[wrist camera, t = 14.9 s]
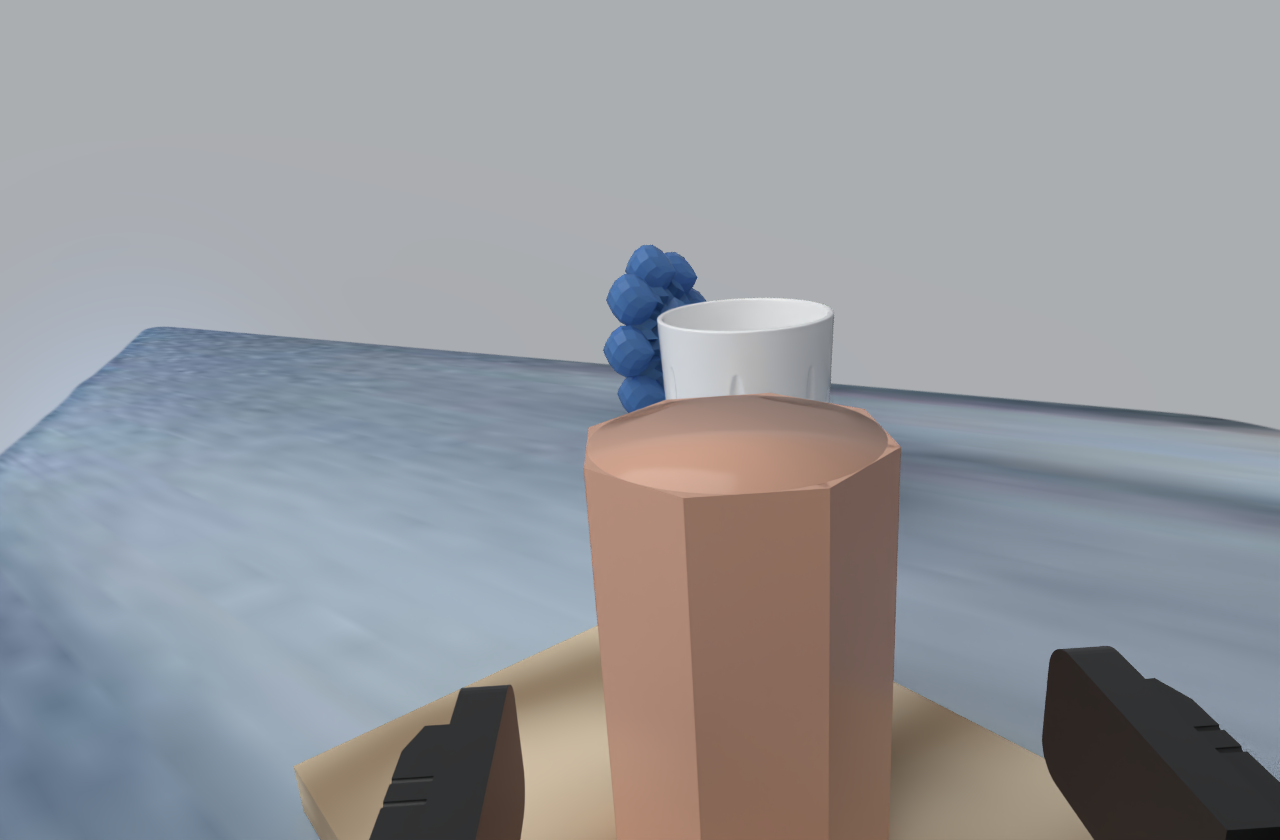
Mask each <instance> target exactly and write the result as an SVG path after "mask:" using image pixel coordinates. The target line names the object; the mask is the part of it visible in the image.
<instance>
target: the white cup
mask: <svg viewBox="0 0 1280 840" xmlns="http://www.w3.org/2000/svg"><path fill="white" fill-rule="evenodd" d="M833 323H834V311H833V309H832V308H830V307H829V306H827V305H824V304H821V303H817V302H813V301H807V300H799V299H786V298H741V299H728V300H716V301H708V302H701V303H695V304H689V305H685V306H681V307H677V308H674V309H671V310H668V311H666V312H664V313H662V314H660V315H659V316H658V318H657V325H658V334H659V343H660V352H661V362H662V371H663V381H664V390H665V399H666V400H669V399H684V398H699V397H714V396H729V395H744V394H759V393H774V394H780V395H786V396H792V397H797V398H803V399H809V400H815V401H820V402H826V403H830V386H831V364H832V343H833V325H834V324H833Z"/></svg>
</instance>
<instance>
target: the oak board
mask: <svg viewBox="0 0 1280 840" xmlns="http://www.w3.org/2000/svg"><path fill="white" fill-rule="evenodd" d="M498 685H512V687H513V691H514V695H515V703H516V711H517V719H518V727H519V734H520V742H521V750H522V758H523V766H524V777H525V809H524V819H523V826H522V832H521V839H520V840H617V836H616V824H615V813H614V802H613V791H612V780H611V768H610V757H609V746H608V735H607V723H606V712H605V701H604V690H603V679H602V667H601V656H600V645H599V634H598V625H597V626H595V627H593V628H591V629H589V630H587V631H585V632H582V633H580V634H578V635H576V636H574V637H572V638H569V639H567V640H565V641H563V642H561V643H559V644H556V645H554V646H552V647H550V648H548V649H546V650H544V651H541V652H539V653H537V654H535V655H533V656H531V657H528V658H526V659H524V660H522V661H520V662H518V663H515V664H513V665H511V666H509V667H507V668H505V669H503V670H500V671H498V672H496V673H494V674H492V675H490V676H487V677H485V678H483V679H481V680H479V681H477V682H475V683H472V684H470V685H468V686H466V687H464V688H468V687H483V686H498ZM460 690H461V689H459V690H457V691H455V692H453V693H451V694H449V695H446V696H444V697H442V698H440V699H438V700H436V701H434V702H431V703H429V704H427V705H425V706H423V707H421V708H418V709H416V710H414V711H412V712H410V713H408V714H405V715H403V716H401V717H399V718H397V719H395V720H393V721H390V722H388V723H386V724H384V725H382V726H380V727H377V728H375V729H373V730H371V731H369V732H367V733H364V734H362V735H360V736H358V737H356V738H354V739H352V740H349V741H347V742H345V743H343V744H341V745H339V746H336V747H334V748H332V749H330V750H328V751H326V752H323V753H321V754H319V755H317V756H315V757H313V758H311V759H308V760H306V761H304V762H302V763H300V764H298V765H295V766H294V770H295V774H296V779H297V783H298V788H299V792H300V797H301V801H302V806H303V810H304V812H305V814H306V815H307V817H308V819H309V820H310V822H311V824H312V826H313V827H314V829H315V831H316V833H317V834H318V836H319V838H320V839H321V840H369V838H370V836H371V833H372V830H373V827H374V825H375V822H376V819H377V817H378V814H379V811H380V809H381V808H383V800H384V798H385V795H386V792H387V790H388V787H389V784H391V783H392V776H393V773H394V771H395V768H396V765H397V762H398V760H399V757H400V754H401V752H402V750H403V749H404V748H405V747H406V746H407V745H408V744H409V742H410V741H411V740H412V739H413V738H414V737H415V736H416V735H417V734H418V733H419V732H420V731H421V729H422V728H423V727H424V726H429V725H444V724H450V720H451V717H452V714H453V711H454V707H455V704H456V701H457V697H458V694H459V691H460ZM888 840H1094V839H1093V838H1092V836H1091V835H1090V833H1089V832H1088V831H1087V829H1086V828H1085V826H1084V825H1083V823H1082V822H1081V820H1080V819H1079V818H1078V816H1077V815H1076V813H1075V812H1074V810H1073V809H1072V807H1071V806H1070V805H1069V803H1068V802H1067V800H1066V799H1065V797H1064V796H1063V794H1062V793H1061V792H1060V790H1059V789H1058V787H1057V786H1056V784H1055V783H1054V781H1053V779H1052V777H1051V775H1050V773H1049V770H1048V768H1047V765H1046V761H1045V759H1044V758H1042V757H1040V756H1038V755H1036V754H1034V753H1032V752H1030V751H1029V750H1027V749H1025V748H1023V747H1021V746H1019V745H1017V744H1015V743H1013V742H1011V741H1009V740H1007V739H1005V738H1003V737H1001V736H999V735H997V734H995V733H993V732H991V731H989V730H987V729H985V728H983V727H982V726H980V725H978V724H976V723H974V722H972V721H970V720H968V719H966V718H964V717H962V716H960V715H958V714H956V713H954V712H952V711H950V710H948V709H946V708H944V707H942V706H940V705H938V704H936V703H935V702H933V701H931V700H929V699H927V698H925V697H923V696H921V695H919V694H917V693H915V692H913V691H911V690H909V689H907V688H905V687H903V686H901V685H899V684H897V683H895V682H893V712H892V743H891V775H890V807H889V838H888Z"/></svg>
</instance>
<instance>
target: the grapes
mask: <svg viewBox="0 0 1280 840" xmlns="http://www.w3.org/2000/svg"><path fill="white" fill-rule="evenodd" d="M625 272H626V274H624V275H622V276H621V277H620V278H618V279H617V280H616V281H615V282H614V284H613V285H612V287H611V289H610V290H609V293H608V296H607V299H606V301H607V303H608V305H609V307H610V309H611V311H612V313H613V314H614V315H615V317H616V318H617V319H618V320H619V321H620V322H621V323H623V324H625V325H627V326H620V327H619V328H617V329H616V330H615V331H613V332H612V333H611V335H610V337H609V338H608V340H607V342H606V344H605V346H604V350H603V351H604V354H605V356H606V358H607V360H608V362H609V364H610V365H611V366H612V368H613V369H614V370H615V371H616V372H617V373H619V374H621V375H623V376H624V377H627V378H626V379H625V380H624V382H623V383H622V385H621V386H620V388H619V391H618V393H617V394H618V396H619V399H620V401H621V403H622V405H623V407H624V408H625V410H626V411H627V412H628V413H630V412H633V411H636V410H639V409H641V408H644V407H647V406H650V405H652V404H655V403H658V402H661V401H663V400H666V399H665V390H664V381H663V371H662V362H661V352H660V343H659V334H658V325H657V318H658V316H659V315H660V314H662V313H664V312H666V311H668V310H671V309H674V308H677V307H681V306H685V305H689V304H695V303H701V302H707V301H706V300H705V299H704V297H703V296H702V295H701V294H700V293H699V292H698V291H696V290H694V289H693V288H692V287H693V285H694V284H695V281H696V279H697V276H696V274H695V272H694V270H693V269H692V267H691V266H690V265H689V264H688V262H687V261H686V260H685V258H684V257H682V256H680V255H679V254H677V253H676V252H667V253H665V254H664V253H663V252H662V251H661V250H660V249H658V248H656V247H655V246H653V245H643V246H641V247H640V248H638V249H637V250H636V251H634V253H633V255H632V256H631V258H630V260H629V262H628V264H627V267H626V270H625Z"/></svg>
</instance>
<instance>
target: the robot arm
mask: <svg viewBox="0 0 1280 840" xmlns="http://www.w3.org/2000/svg"><path fill="white" fill-rule="evenodd" d="M1042 744H1043V752H1044V757H1045V761H1046V765H1047V768H1048V770H1049V773H1050V775H1051V777H1052V779H1053V781H1054V783H1055V784H1056V786H1057V787H1058V789H1059V790H1060V792H1061V793H1062V794H1063V796H1064V797H1065V799H1066V800H1067V802H1068V803H1069V805H1070V806H1071V807H1072V809H1073V810H1074V812H1075V813H1076V815H1077V816H1078V818H1079V819H1080V820H1081V822H1082V823H1083V825H1084V826H1085V828H1086V829H1087V831H1088V832H1089V833H1090V835H1091V836H1092V838H1093V839H1094V840H1280V782H1279V781H1278V780H1277V779H1276V778H1274V777H1273V776H1272V775H1271V774H1270V773H1269V772H1268V771H1267V770H1266V769H1265V768H1264V767H1263V766H1262V765H1261V764H1260V763H1259V762H1258V761H1257V760H1256V759H1254V758H1253V757H1252V756H1251V755H1250V754H1249V753H1248V752H1243V751H1242V748H1241V745H1240V744H1239V743H1238V742H1237V741H1236V740H1234V739H1233V738H1232V737H1231V736H1230V735H1229V734H1228V733H1227V732H1226V731H1225V730H1220V728H1219V724H1218V723H1217V722H1216V721H1214V720H1213V719H1212V718H1211V717H1210V716H1209V715H1208V714H1207V713H1206V712H1205V711H1204V710H1203V709H1202V708H1201V707H1200V706H1199V705H1198V704H1197V703H1195V702H1194V701H1193V700H1192V699H1191V698H1189V697H1187V696H1185V695H1184V694H1182V693H1180V692H1178V691H1176V690H1175V689H1173V688H1171V687H1169V686H1168V685H1166V684H1164V683H1162V682H1160V681H1159V680H1157V679H1155V678H1152V679H1145V678H1144V677H1143V676H1142V675H1141V674H1140V673H1139V672H1138V671H1137V670H1136V669H1135V668H1134V667H1133V666H1132V665H1131V664H1130V663H1129V662H1128V661H1127V660H1126V659H1125V658H1124V657H1123V656H1122V655H1121V654H1120V653H1119V652H1118V651H1117V650H1115V649H1114V648H1112V647H1110V646H1100V647H1085V648H1070V649H1057V650H1055V651H1054V652H1053V653H1052V655H1051V658H1050V662H1049V671H1048V681H1047V692H1046V702H1045V713H1044V723H1043V734H1042ZM524 809H525V777H524V766H523V758H522V750H521V742H520V734H519V727H518V719H517V711H516V703H515V695H514V691H513V687H512V685H498V686H483V687H468V688H461V690H460V691H459V694H458V697H457V701H456V704H455V707H454V711H453V714H452V717H451V720H450V724H444V725H429V726H424V727H423V728H422V729H421V731H420V732H419V733H418V734H417V735H416V736H415V737H414V738H413V739H412V740H411V741H410V742H409V744H408V745H407V746H406V747H405V748H404V749H403V750H402V752H401V754H400V757H399V760H398V762H397V765H396V768H395V771H394V773H393V776H392V783H391V784H389V787H388V790H387V792H386V795H385V798H384V800H383V808H381V809H380V811H379V814H378V817H377V819H376V822H375V825H374V827H373V830H372V833H371V836H370V838H369V840H520V839H521V832H522V826H523V819H524Z"/></svg>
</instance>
